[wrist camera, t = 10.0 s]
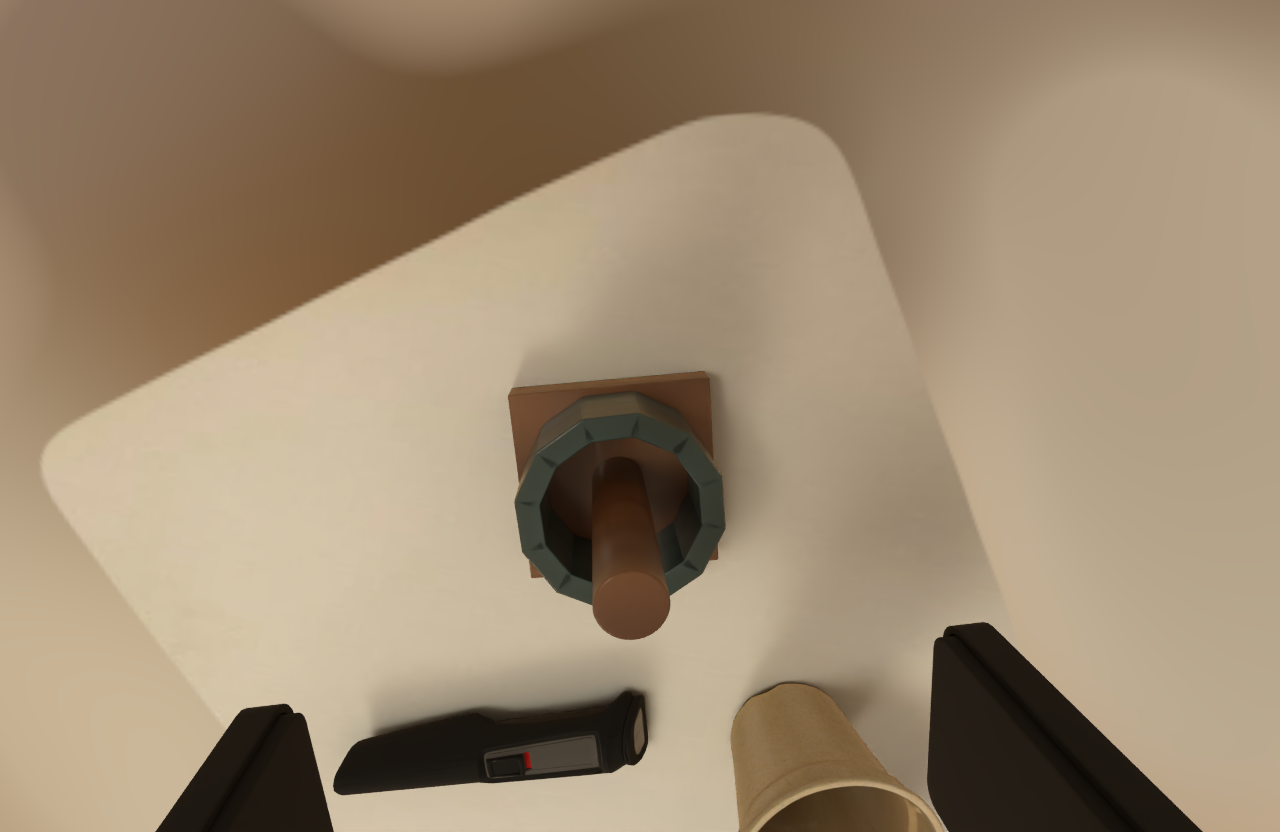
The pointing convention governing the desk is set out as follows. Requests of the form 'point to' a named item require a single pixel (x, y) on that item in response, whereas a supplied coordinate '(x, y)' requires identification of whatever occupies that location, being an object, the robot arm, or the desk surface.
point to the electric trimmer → (498, 749)
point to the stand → (618, 493)
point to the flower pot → (814, 771)
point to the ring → (612, 419)
